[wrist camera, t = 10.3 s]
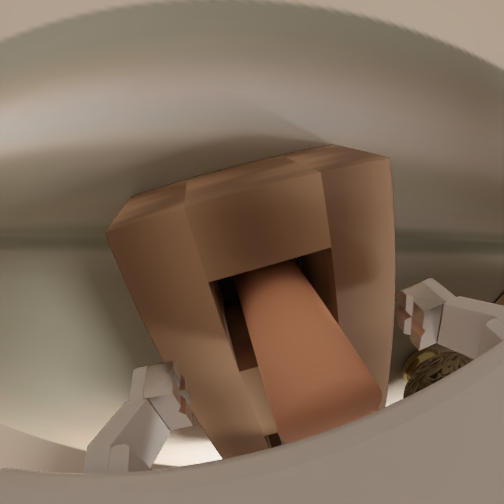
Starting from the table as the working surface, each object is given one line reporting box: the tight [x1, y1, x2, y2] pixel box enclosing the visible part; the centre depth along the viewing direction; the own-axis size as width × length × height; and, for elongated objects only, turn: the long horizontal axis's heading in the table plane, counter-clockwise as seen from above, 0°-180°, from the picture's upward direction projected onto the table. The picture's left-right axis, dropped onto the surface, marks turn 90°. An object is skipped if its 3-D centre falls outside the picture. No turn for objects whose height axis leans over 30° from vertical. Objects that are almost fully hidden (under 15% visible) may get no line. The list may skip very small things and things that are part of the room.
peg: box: [233, 259, 382, 444], centre depth 12 cm, size 3×3×10 cm
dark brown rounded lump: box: [402, 347, 472, 399], centre depth 19 cm, size 8×7×8 cm
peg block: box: [105, 145, 395, 459], centre depth 16 cm, size 10×20×5 cm, turn 12°
